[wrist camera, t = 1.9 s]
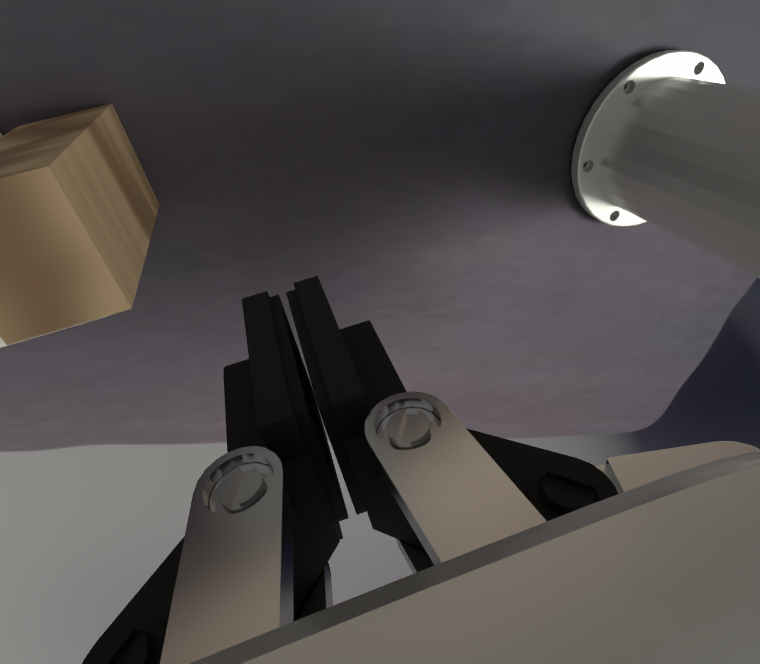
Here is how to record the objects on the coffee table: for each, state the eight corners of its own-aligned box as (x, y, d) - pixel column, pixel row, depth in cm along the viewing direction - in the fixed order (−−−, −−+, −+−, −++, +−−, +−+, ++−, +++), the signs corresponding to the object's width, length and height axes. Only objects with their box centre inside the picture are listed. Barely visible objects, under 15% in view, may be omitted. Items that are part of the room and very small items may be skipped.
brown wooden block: (111, 103, 27) (48, 166, 17) (159, 204, 31) (131, 308, 20) (18, 126, 27) (-107, 205, 16) (78, 226, 30) (7, 345, 20)
